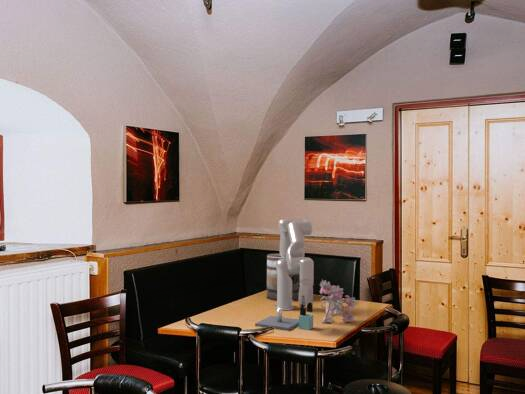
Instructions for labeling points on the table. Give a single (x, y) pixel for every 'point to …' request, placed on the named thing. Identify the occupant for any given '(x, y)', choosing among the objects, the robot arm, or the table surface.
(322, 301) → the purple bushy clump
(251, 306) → the table surface
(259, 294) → the table surface
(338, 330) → the table surface
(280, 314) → the duct stub
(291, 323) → the base plate
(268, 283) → the barrel
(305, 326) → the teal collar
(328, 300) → the flower
